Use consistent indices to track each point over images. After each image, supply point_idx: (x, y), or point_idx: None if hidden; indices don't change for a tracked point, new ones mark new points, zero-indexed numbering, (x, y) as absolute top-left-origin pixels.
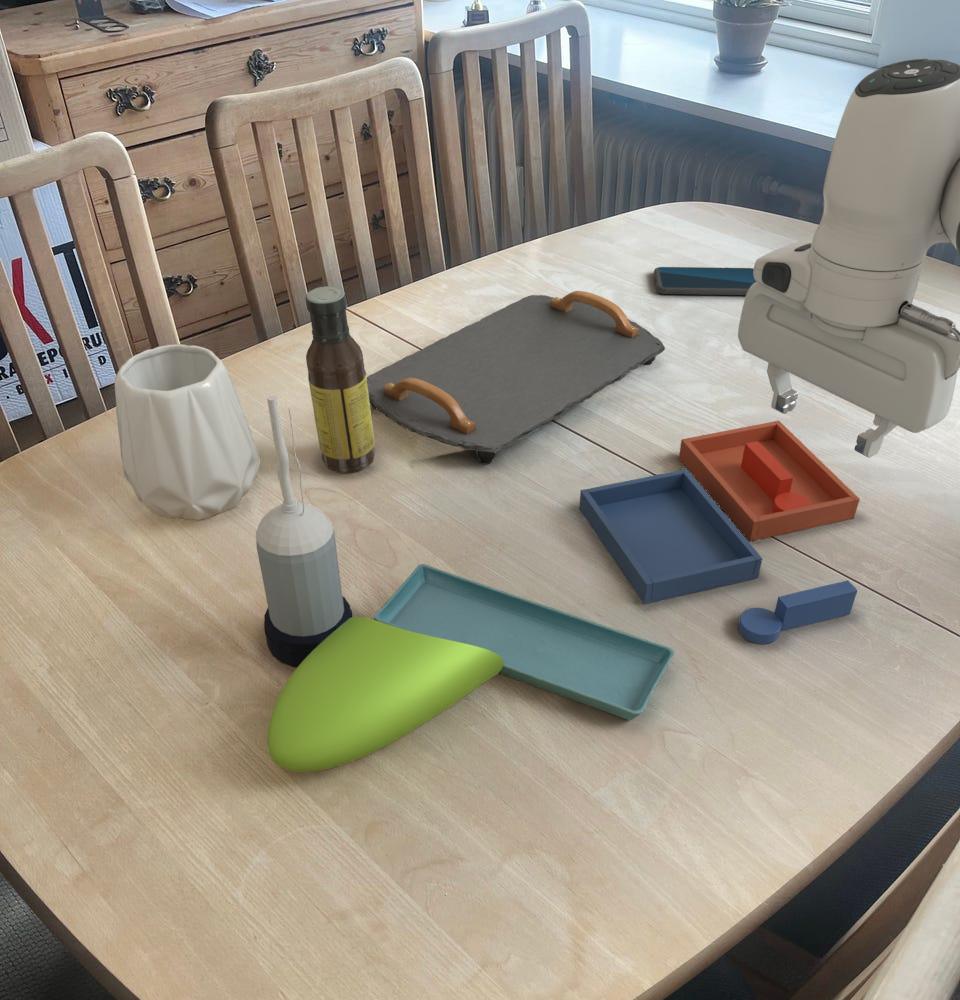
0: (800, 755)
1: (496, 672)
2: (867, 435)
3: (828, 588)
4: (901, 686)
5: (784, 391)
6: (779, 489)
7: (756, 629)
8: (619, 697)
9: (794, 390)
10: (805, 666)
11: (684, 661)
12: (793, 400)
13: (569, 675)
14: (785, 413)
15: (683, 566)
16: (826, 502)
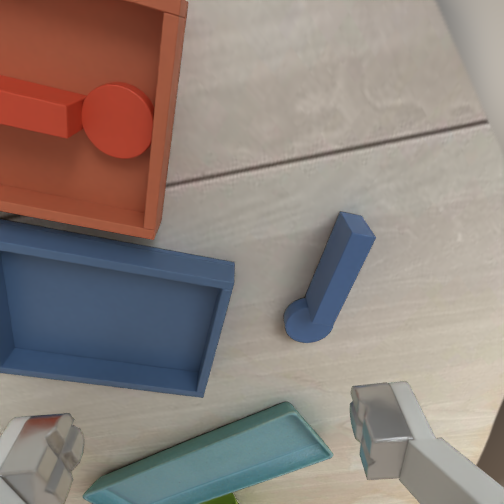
0: (440, 374)
1: (236, 501)
2: (391, 467)
3: (344, 266)
4: (477, 254)
5: (17, 498)
6: (77, 130)
7: (316, 336)
8: (298, 439)
9: (15, 472)
10: (378, 311)
11: (293, 383)
12: (56, 456)
13: (254, 451)
14: (81, 433)
15: (173, 324)
16: (159, 84)
